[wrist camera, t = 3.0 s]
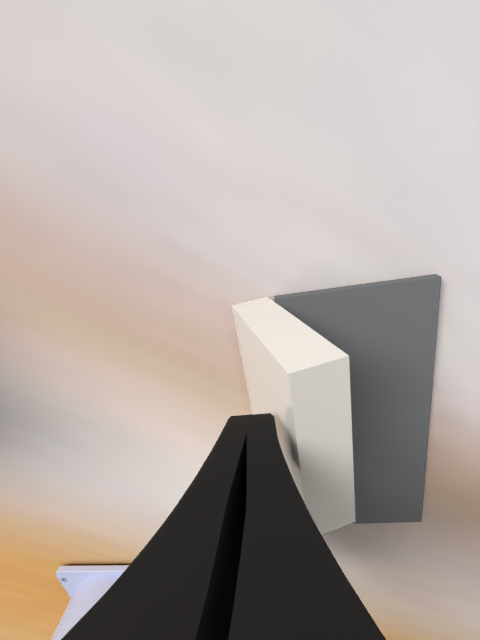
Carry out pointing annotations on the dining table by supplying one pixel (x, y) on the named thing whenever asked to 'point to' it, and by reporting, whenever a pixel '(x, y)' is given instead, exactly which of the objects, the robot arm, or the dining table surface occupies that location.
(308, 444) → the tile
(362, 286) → the mat
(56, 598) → the dining table surface
